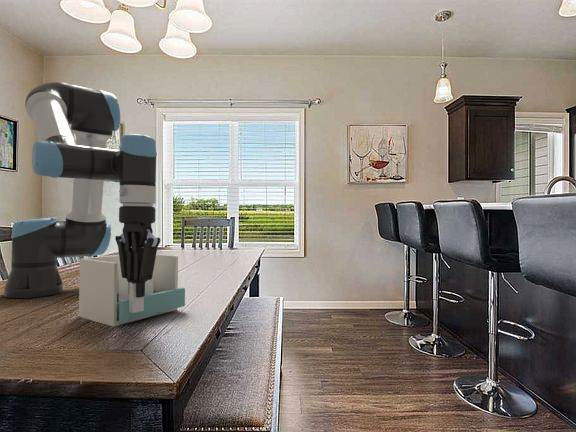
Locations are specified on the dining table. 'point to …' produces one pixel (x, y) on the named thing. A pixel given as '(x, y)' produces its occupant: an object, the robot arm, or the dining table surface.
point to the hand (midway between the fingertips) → (136, 311)
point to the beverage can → (125, 286)
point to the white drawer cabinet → (116, 286)
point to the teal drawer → (152, 304)
